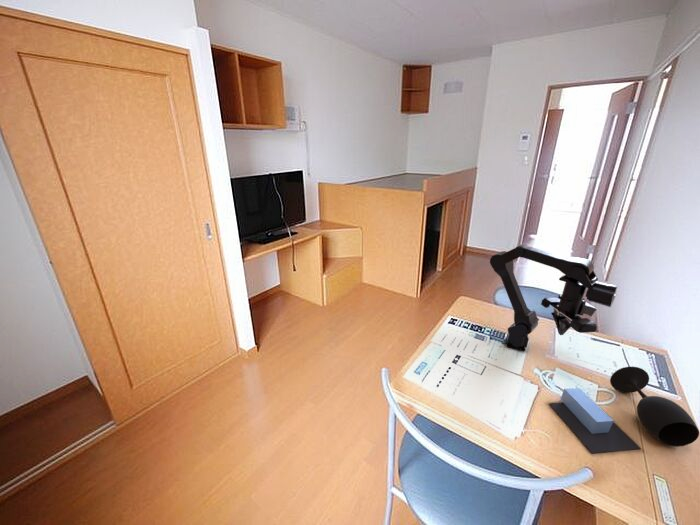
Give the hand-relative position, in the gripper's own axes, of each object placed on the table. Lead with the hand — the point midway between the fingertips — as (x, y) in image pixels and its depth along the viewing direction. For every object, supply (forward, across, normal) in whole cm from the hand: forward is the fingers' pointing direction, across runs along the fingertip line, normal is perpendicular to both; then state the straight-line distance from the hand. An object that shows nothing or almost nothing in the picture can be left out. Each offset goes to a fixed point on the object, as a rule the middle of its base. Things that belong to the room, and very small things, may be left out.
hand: (560, 334), depth 108 cm
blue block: (+10, -17, +8) cm, 21 cm away
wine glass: (+7, -15, -13) cm, 21 cm away
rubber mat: (+12, -26, +8) cm, 30 cm away
